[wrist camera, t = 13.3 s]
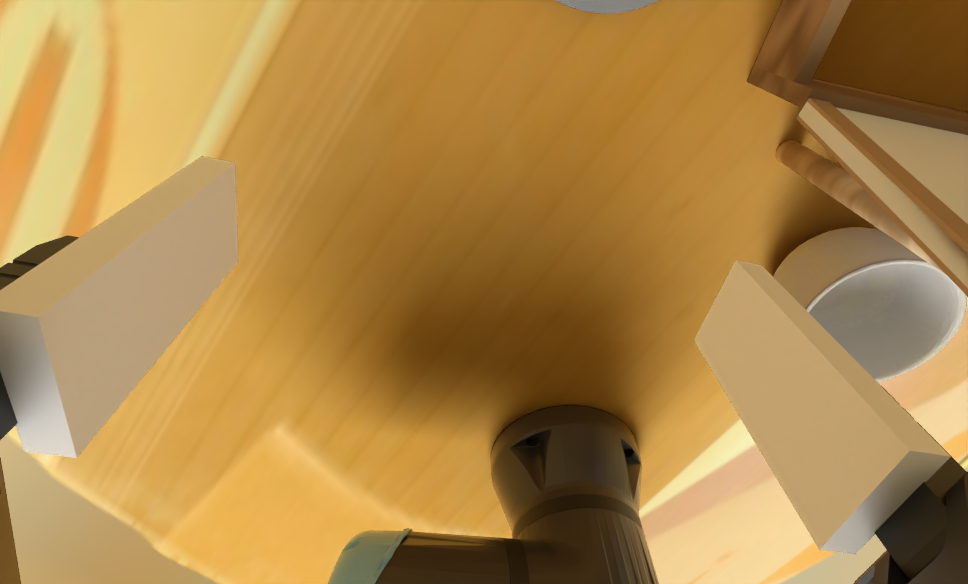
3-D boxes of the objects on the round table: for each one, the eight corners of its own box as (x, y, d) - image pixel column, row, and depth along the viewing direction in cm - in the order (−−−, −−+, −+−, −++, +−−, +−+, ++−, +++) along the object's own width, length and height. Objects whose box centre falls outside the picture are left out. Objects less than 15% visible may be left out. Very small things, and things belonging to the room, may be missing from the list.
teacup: (808, 342, 47) (864, 407, 40) (721, 288, 43) (766, 350, 37) (955, 220, 40) (1050, 274, 34) (866, 147, 37) (952, 190, 30)
